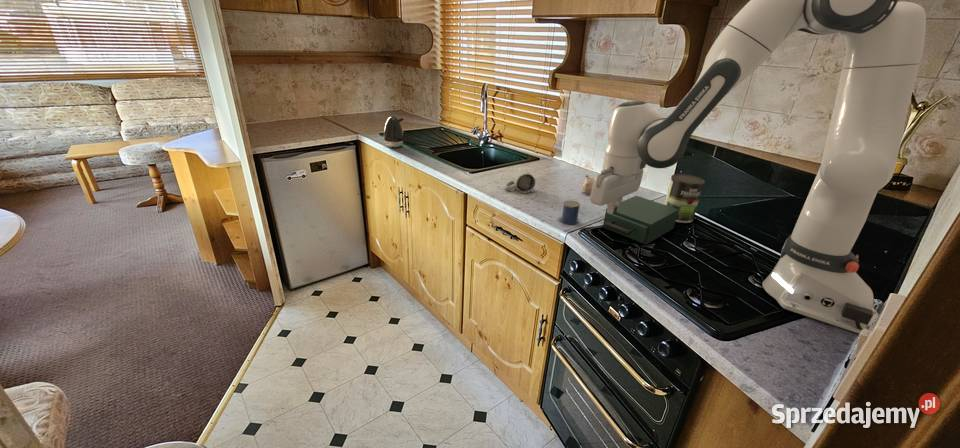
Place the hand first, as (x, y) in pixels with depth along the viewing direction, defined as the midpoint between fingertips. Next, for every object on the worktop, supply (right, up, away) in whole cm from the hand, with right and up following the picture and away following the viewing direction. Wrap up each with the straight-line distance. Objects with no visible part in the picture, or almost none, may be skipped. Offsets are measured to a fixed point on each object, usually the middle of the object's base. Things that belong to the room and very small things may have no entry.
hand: (612, 212), depth 113 cm
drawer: (+11, -5, +15) cm, 20 cm away
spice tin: (-7, -2, +21) cm, 22 cm away
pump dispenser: (-81, +37, +95) cm, 130 cm away
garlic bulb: (+6, +9, +45) cm, 46 cm away
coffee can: (+32, -1, +28) cm, 42 cm away
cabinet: (+14, -5, +18) cm, 24 cm away
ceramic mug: (-22, +10, +45) cm, 51 cm away
